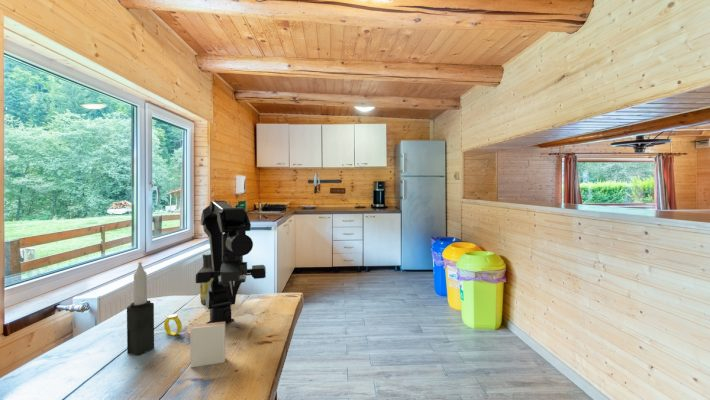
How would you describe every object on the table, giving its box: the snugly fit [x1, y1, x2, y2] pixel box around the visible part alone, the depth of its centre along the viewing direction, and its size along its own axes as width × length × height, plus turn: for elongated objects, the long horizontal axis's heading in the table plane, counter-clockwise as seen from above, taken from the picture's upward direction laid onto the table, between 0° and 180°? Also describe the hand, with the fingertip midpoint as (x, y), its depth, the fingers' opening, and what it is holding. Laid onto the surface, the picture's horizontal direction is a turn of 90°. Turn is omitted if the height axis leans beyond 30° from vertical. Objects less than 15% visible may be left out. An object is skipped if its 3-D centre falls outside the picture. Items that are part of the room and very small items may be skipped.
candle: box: [126, 261, 155, 356], centre depth 83 cm, size 5×5×25 cm
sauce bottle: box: [199, 252, 213, 305], centre depth 120 cm, size 6×6×20 cm
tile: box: [190, 322, 227, 368], centre depth 78 cm, size 2×8×10 cm, turn 108°
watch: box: [163, 313, 183, 337], centre depth 93 cm, size 6×3×6 cm, turn 70°
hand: (232, 302), depth 88 cm, fingers closed
